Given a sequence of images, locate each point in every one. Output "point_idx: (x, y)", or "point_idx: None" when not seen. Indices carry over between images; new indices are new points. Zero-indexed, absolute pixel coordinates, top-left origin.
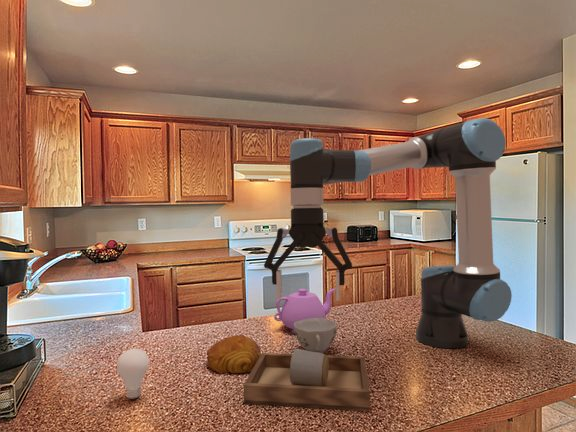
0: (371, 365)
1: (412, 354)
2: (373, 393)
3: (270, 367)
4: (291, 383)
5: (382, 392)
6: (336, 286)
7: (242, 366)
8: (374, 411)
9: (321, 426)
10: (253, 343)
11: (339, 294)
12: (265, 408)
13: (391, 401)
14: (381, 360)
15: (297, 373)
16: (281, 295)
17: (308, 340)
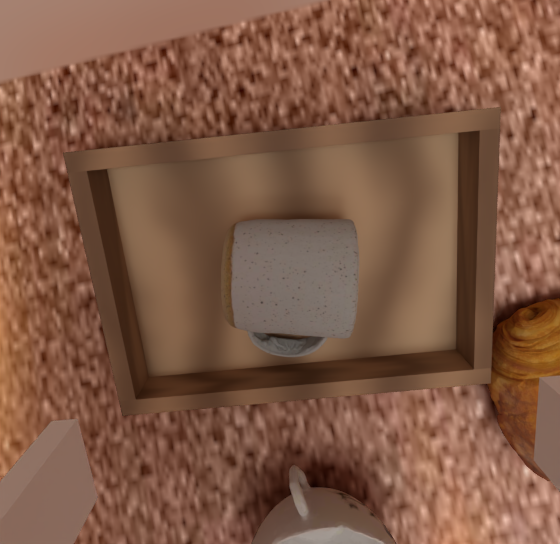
0: (127, 440)
1: None
2: None
3: (438, 349)
4: None
5: (71, 274)
6: (2, 511)
7: (536, 314)
8: None
9: (212, 34)
10: None
11: (24, 459)
12: (397, 100)
13: (39, 226)
14: (103, 478)
15: (324, 219)
16: (544, 456)
17: (337, 501)
